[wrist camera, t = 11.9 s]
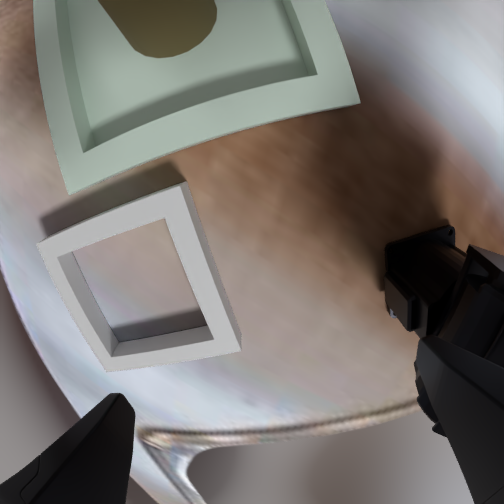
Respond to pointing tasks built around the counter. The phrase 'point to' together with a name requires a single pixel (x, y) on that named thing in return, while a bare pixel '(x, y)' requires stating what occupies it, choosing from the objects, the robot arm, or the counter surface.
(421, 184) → the counter surface
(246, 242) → the counter surface
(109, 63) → the tray
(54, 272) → the collar block
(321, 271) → the counter surface
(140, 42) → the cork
